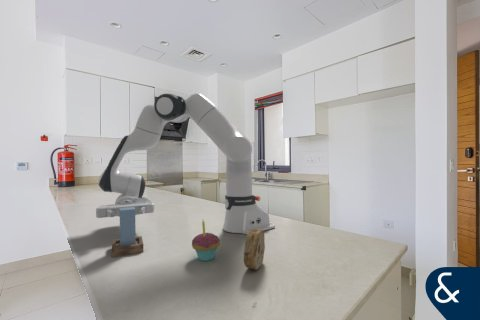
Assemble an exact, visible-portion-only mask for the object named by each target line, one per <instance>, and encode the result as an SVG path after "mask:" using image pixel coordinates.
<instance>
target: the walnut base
mask: <svg viewBox="0 0 480 320" xmlns="http://www.w3.org/2000/svg"><path fill="white" fill-rule="evenodd" d="M110 251H111V258H115V257H122V256H126V255H127V256H128V255H132V254H138V253H139V254H140V253H144V241H143V237H142V235H139V236H136V244H134V245H128V246H121V247H120V238H119V239H113V240H112V243H111V250H110Z"/></svg>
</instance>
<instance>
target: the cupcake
mask: <svg viewBox="0 0 480 320" xmlns="http://www.w3.org/2000/svg"><path fill="white" fill-rule="evenodd" d="M201 225H202V233H200V234H198V235H196V236H194V237H193V239H192V241H191V247H192V249H193V250H195V253H196V255H197V257H198V260H199V261H202V262H203V261H204V262H208V261H211V260H213V259H214V258H215V256H216V253H217V250H218V249H219V246H220V245H221V240H220V237H219V236H217V234H214V233H212V232H206V225H205V221H204V220H202V222H201Z"/></svg>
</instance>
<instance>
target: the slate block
mask: <svg viewBox="0 0 480 320" xmlns="http://www.w3.org/2000/svg"><path fill="white" fill-rule="evenodd" d="M136 237H137V235H136V215H135V207H128V208H120V217H119V239H120V247H121V246H128V245H134V244H136Z"/></svg>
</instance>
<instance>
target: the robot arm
mask: <svg viewBox="0 0 480 320" xmlns="http://www.w3.org/2000/svg"><path fill="white" fill-rule="evenodd" d="M189 119H191V120H192V121H193V122H194V123H195V124H196V125H197V126H198V127H199V128H200V129H201V130H202V131H203V133H204V134H206V136H207V137H208V138H209V139H210V140H211V141H212V142H213V143H214V144H215V146H216V147H217V148H218V149H219V150H220V151H221V152H222V153H223V154H224V156H225V157H226V164H225V165H226V167H225V169H226V170H225V194H226V195H224V196H225V197H224V198H225V199H224V205H225V208H224V209H225V215H224V220H223V221H224V222H223V225H222V230H223V231H225V232H227V233H232V234H244V235H247V234H248V233H249V232H250V231H252V230H254V229H260V230H263V232H264V231H267V230H271V229H275V228H276V226H275V224H274V222H272V221H270V220H271V219H270V216H269V213H268V211H267V210H265V209H264V208H263V207H261V206H260V205H259V204H258V203H257V202H259V201H261V197H260V196H259V195H253V182H252V181H253V175H252V173H253V172H252V153H253V146H252V143H251V142H250V140H249V139H248V137H247V136H246V135H245V134H243V133H242V132H241V131H240V130H239V128H237V126H236V125H234V124H233V123H232V122H231V121H230V120H229V119H228V118H227V117H226V116H225V114H224V113H223V112H222V111H220V109H219V108H218V107H217V106H216V105H215V104H214V102H212V101H210V100H209V99H208V98H207V97H206V96H205V95H203V94H201V93H194V94H191V95H190V96H188V98H186V99H184V97H183V96H179V95H177V94H172V93H163V94H160V95H158V97H156V99H155V100H154V104H148V105H145V106H144V107H143V109H142V111H141V112H140V114H139V116H138V118H137V121H136V124H135V127H134V129H133V131H132V132H131V133H130V134H128V135H125V136H123V137H122V139H121V140H120V143H119V144H118V146H117V147H116V149H115V151H114V153H113V154H112V157H111V158H110V160H109V162H108V164H107V166H106V168H105V169H104V170H103V172H102V173H101V175H100V176H99V179H98V187H99V188H100V189H101V190H102V191H103V192H107V193H116V194H120V195H119V196H117V198H116V199H115V202H114V204H104V205H103V204H102V205H99V206H98V207H97V208H96V210H95V212H96V213H95V217H96V218H97V219H102V218H114V217H119V218H120V208H128V207H135V216H137V215H138V216H139V215H143V214H153V213H154V212H155V203H154V202H153V201H152V200H149V198H148V197H143V196H144V194H145V193H144V192H145V190H146V180H145V178H144V176H143V175H140V174H135V173H132V172H131V173H130V172H126V171H121V170H119V169H118V168H119V166H120V164H121V162H122V160H123V158H124V156H126V154H127V153H131V152H135V151H137V152H138V151H147V150H150V149H153V148H154V147H156V146H157V145H158V143H159V142H160V140H161V136H162V134H163V131H164V128H165V125H167V123H174V124H177V123H178V124H182V123H186V122H187V121H189ZM256 201H257V202H256Z"/></svg>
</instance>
